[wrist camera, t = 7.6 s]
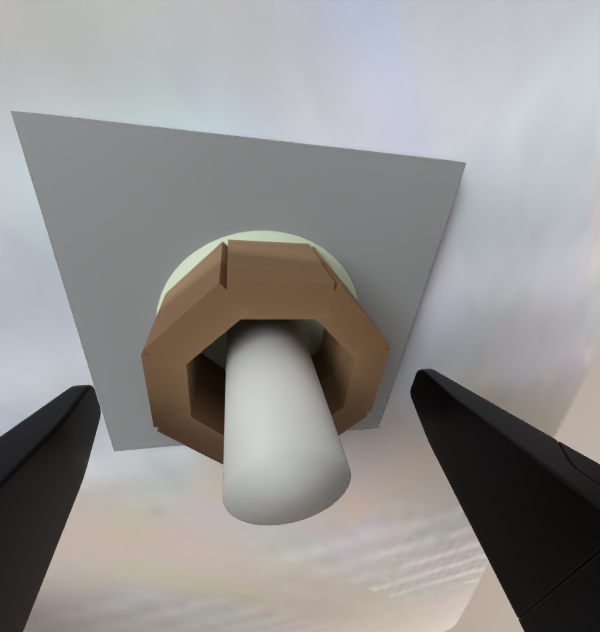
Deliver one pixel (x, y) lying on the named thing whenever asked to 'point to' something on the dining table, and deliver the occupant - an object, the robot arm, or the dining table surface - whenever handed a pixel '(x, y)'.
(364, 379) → the ring
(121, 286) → the post board
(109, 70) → the dining table surface
